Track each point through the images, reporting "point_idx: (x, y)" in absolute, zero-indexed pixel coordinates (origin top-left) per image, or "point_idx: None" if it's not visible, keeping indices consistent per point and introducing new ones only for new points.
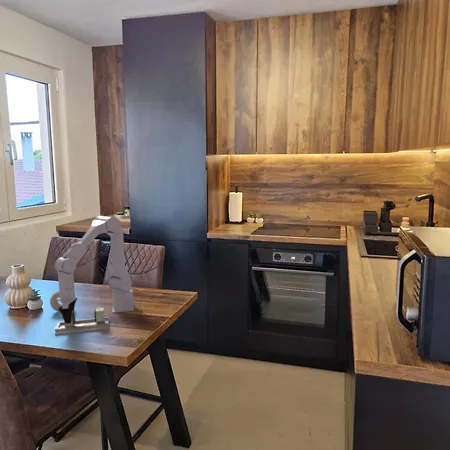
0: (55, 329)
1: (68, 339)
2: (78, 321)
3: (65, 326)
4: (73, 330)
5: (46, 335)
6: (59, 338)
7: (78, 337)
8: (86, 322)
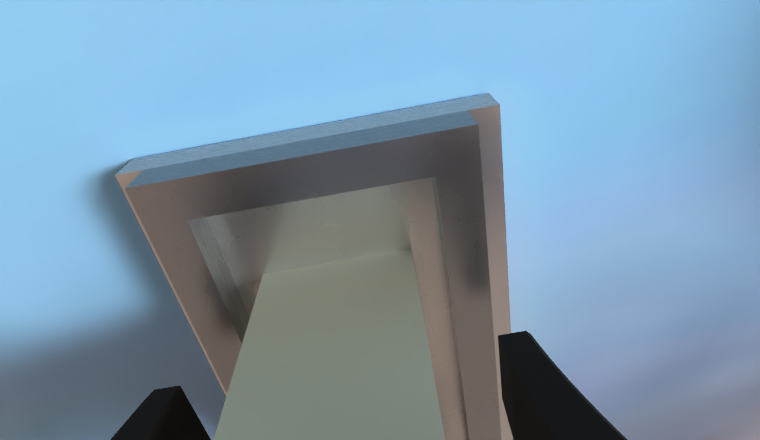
0: (130, 193)
1: (34, 355)
2: (461, 384)
3: (257, 304)
4: (216, 377)
5: (84, 21)
6: (31, 256)
7: (109, 422)
8: (456, 432)
